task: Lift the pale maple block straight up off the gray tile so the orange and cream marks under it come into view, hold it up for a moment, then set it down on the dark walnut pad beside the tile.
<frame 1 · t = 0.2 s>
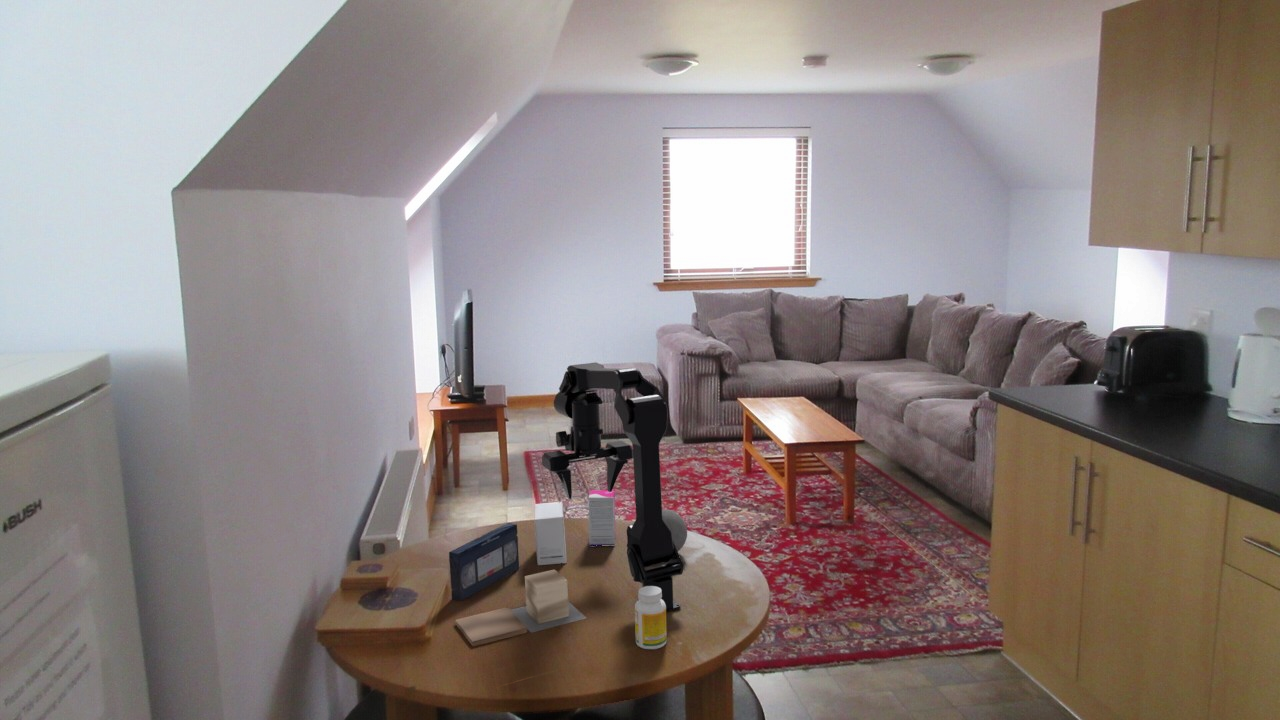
hand: (589, 495, 192), 14 cm above the table, tool pointing down, fingers open, 9 cm apart
supplement box: (603, 543, 205), on the table
vhs cassette tape: (487, 585, 184), on the table
gray tile: (547, 614, 169), on the table
skincare box: (551, 556, 198), on the table
supplement bottle: (651, 644, 157), on the table
maple block: (547, 613, 169), resting on gray tile
walnut pad: (491, 628, 164), on the table
decorative ball: (664, 555, 196), on the table
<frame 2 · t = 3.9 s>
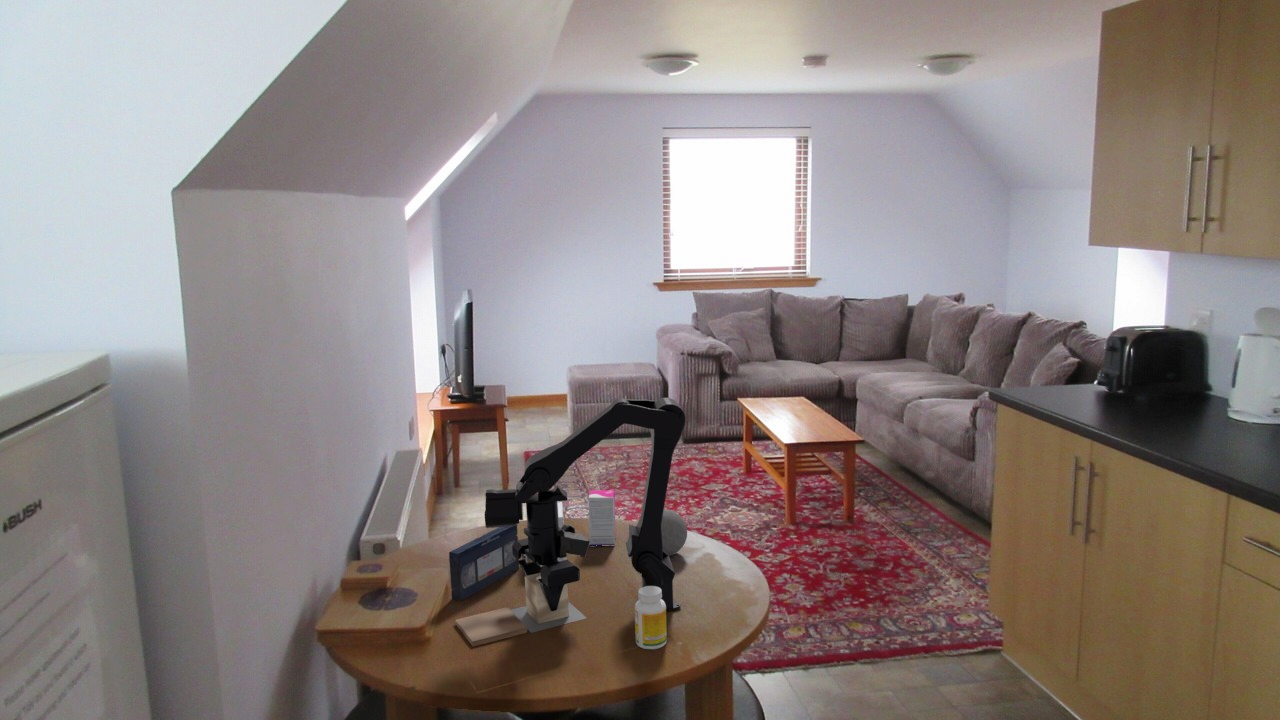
hand: (547, 604, 169), 2 cm above the table, tool pointing down, fingers closed on maple block, 6 cm apart
maple block: (547, 613, 169), resting on gray tile, touching gripper
everything else where it was.
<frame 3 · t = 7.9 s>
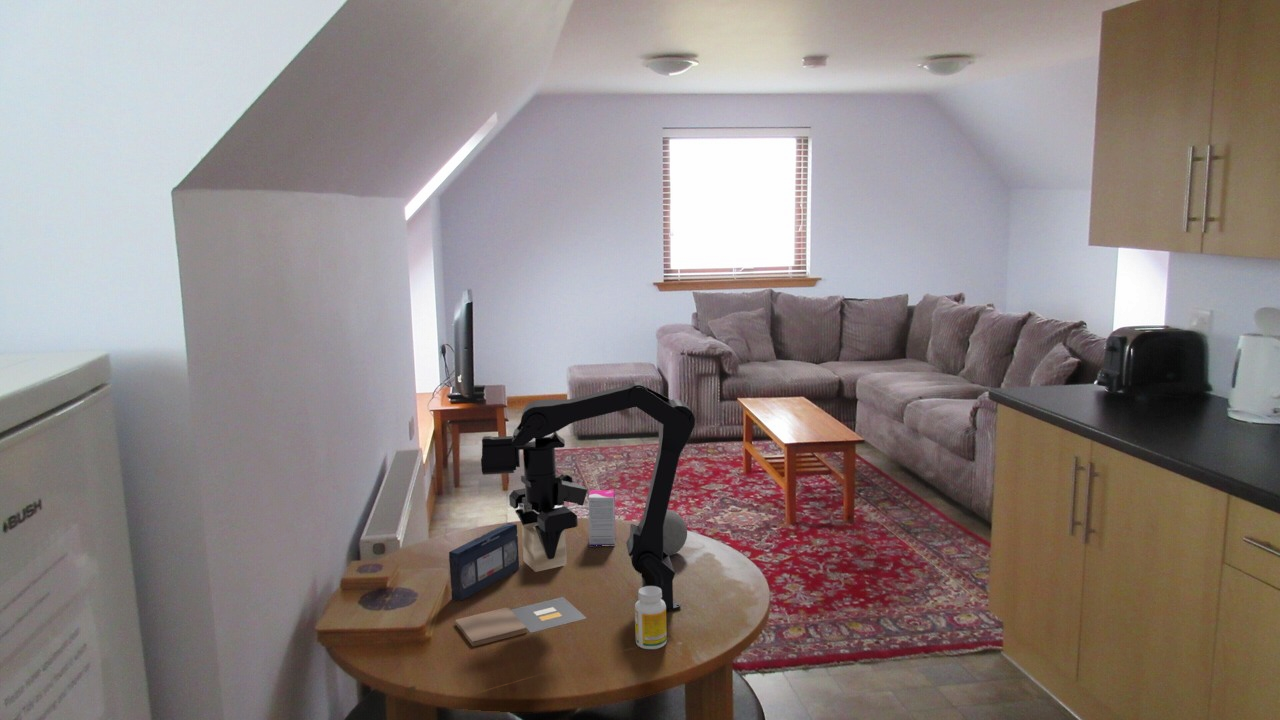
hand: (544, 553, 167), 12 cm above the table, tool pointing down, fingers closed on maple block, 6 cm apart
maple block: (544, 563, 167), point 10 cm above the table, touching gripper
everything else where it was.
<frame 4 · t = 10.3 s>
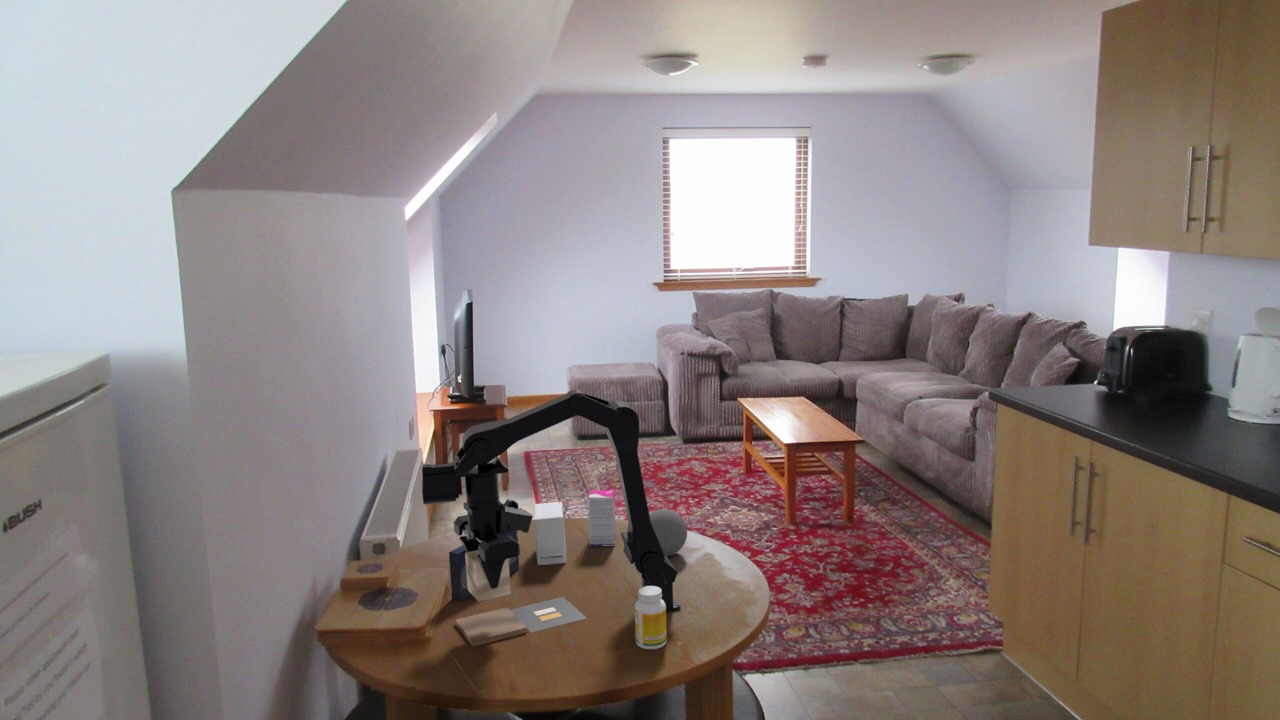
hand: (488, 581, 162), 9 cm above the table, tool pointing down, fingers closed on maple block, 6 cm apart
maple block: (489, 591, 163), point 7 cm above the table, touching gripper
everything else where it was.
when the fingers open (4 cm above the table, at t = 12.1 s): maple block drops 1 cm, resting on walnut pad.
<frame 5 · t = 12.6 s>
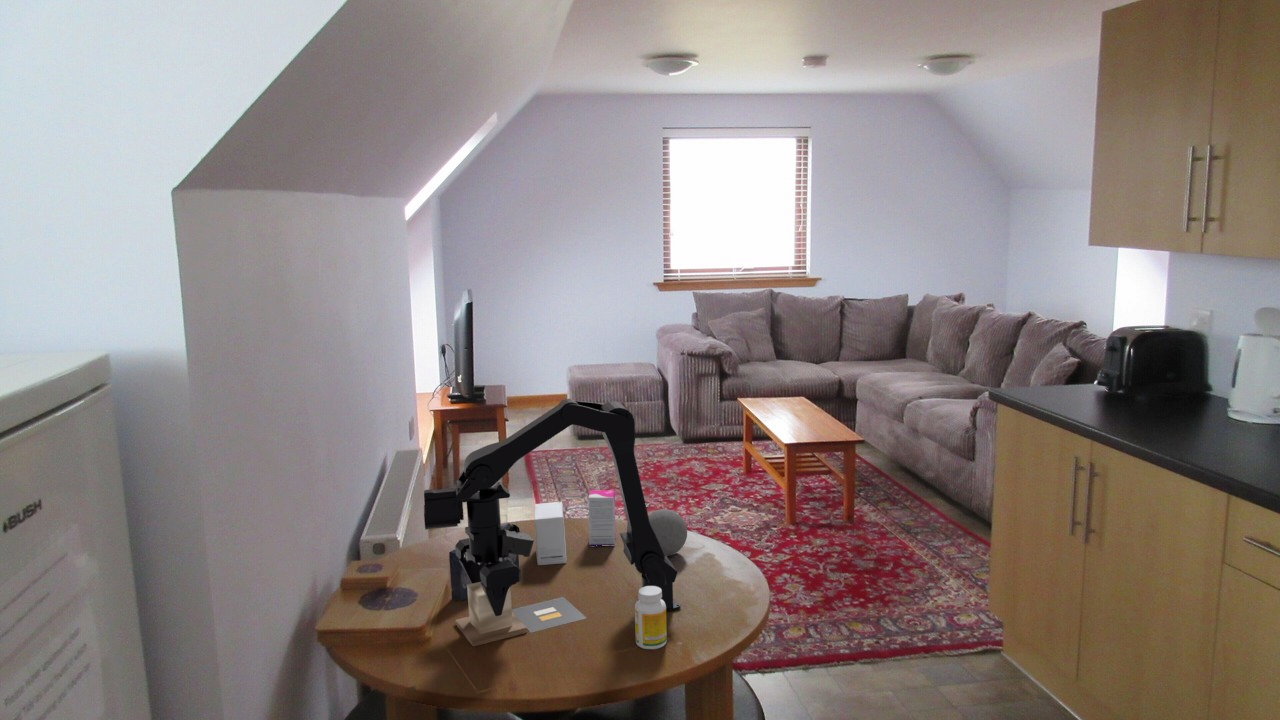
hand: (489, 605, 163), 4 cm above the table, tool pointing down, fingers open, 9 cm apart
maple block: (490, 623, 164), point 1 cm above the table, touching walnut pad
everything else where it was.
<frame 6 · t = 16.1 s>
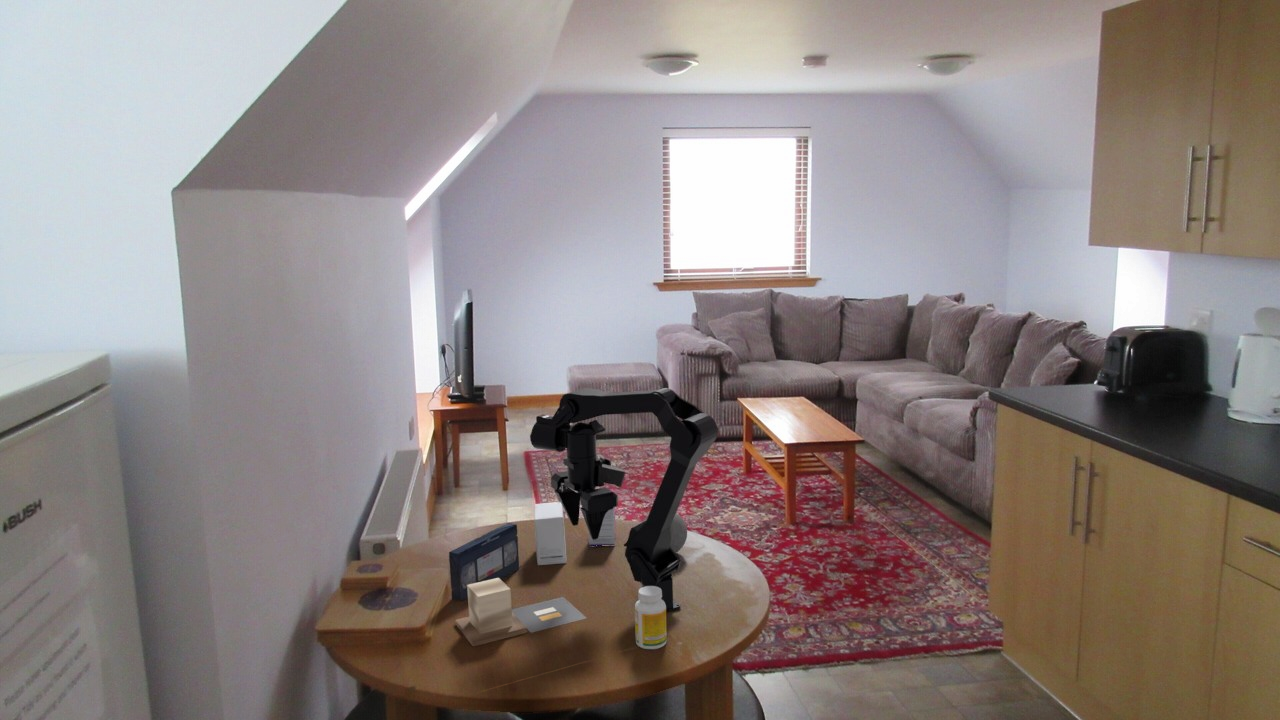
hand: (585, 531, 177), 12 cm above the table, tool pointing down, fingers open, 9 cm apart
nothing on the table moved.
at the end: maple block 0.0 cm off-centre on the walnut pad, point 1.0 cm above the walnut pad's base; maple block tilted 0°; the gripper is holding nothing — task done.
